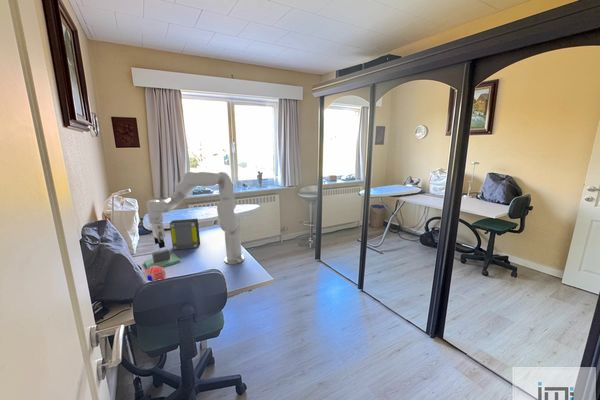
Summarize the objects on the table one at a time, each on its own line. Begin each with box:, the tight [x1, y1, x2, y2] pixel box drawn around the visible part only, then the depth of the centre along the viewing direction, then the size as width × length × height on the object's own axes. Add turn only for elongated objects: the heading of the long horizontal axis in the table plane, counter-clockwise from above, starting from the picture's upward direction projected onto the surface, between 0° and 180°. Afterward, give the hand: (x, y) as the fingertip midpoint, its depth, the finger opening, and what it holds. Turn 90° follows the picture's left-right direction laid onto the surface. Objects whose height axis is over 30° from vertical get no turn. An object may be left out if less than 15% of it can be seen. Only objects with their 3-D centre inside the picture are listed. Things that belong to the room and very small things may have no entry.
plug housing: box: [151, 248, 171, 263], centre depth 169 cm, size 3×9×6 cm, turn 132°
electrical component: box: [169, 218, 201, 251], centre depth 193 cm, size 18×10×20 cm, turn 101°
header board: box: [143, 252, 181, 269], centre depth 169 cm, size 14×18×5 cm
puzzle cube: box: [141, 265, 167, 281], centre depth 145 cm, size 8×8×8 cm
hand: (160, 245), depth 167 cm, fingers open, 9 cm apart
